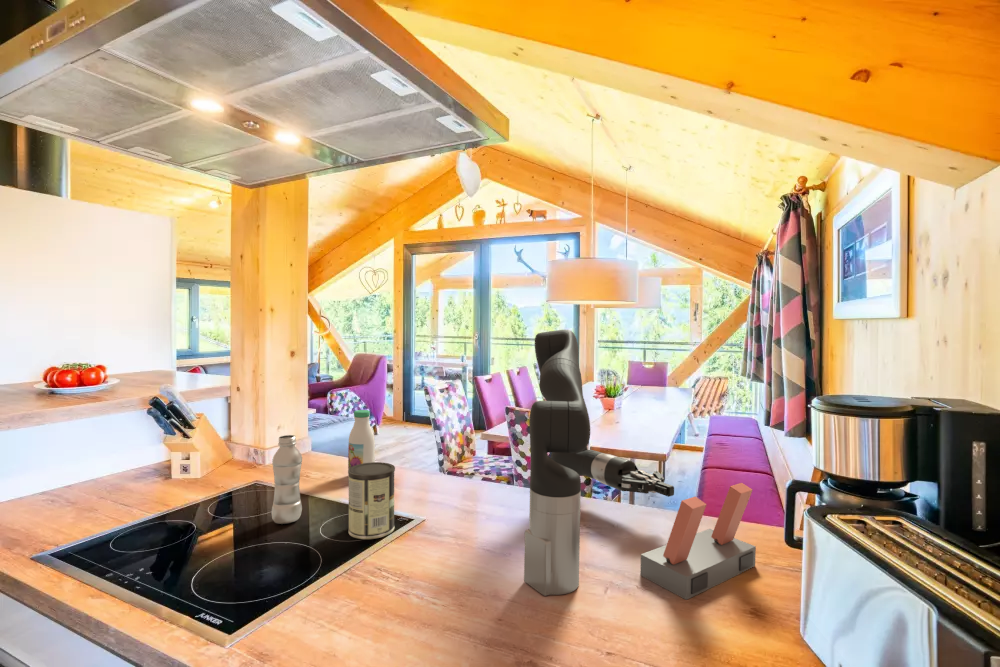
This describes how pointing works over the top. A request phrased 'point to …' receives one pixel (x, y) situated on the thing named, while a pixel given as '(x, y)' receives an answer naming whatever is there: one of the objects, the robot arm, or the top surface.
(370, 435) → the milk bottle
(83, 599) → the top surface
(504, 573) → the top surface
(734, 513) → the block
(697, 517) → the rocker near
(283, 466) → the plastic bottle
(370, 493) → the coffee can
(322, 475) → the top surface
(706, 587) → the grey switch base
